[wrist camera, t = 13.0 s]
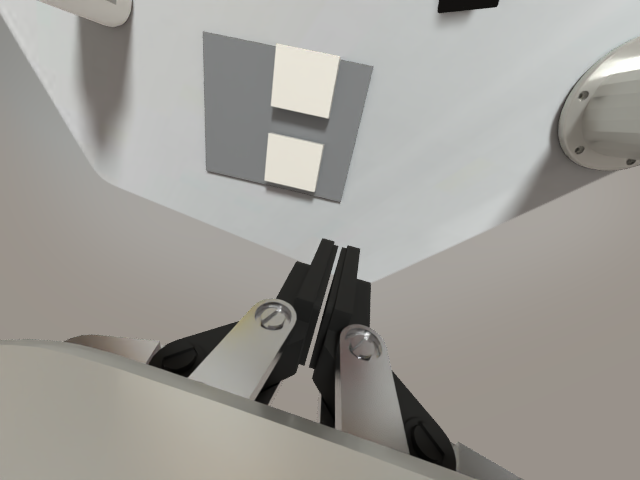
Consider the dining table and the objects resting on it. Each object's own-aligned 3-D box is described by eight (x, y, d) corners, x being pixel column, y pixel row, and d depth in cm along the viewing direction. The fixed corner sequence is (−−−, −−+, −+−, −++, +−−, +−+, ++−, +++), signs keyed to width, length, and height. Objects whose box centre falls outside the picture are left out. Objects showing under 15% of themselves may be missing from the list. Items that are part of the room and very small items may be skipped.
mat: (373, 67, 27) (373, 66, 27) (340, 201, 35) (340, 202, 34) (204, 32, 28) (202, 31, 28) (207, 169, 36) (206, 170, 35)
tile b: (323, 145, 30) (268, 133, 30) (314, 192, 33) (264, 180, 33) (324, 144, 31) (272, 132, 32) (316, 189, 34) (268, 178, 34)
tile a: (339, 56, 26) (276, 43, 26) (328, 118, 29) (270, 105, 29) (340, 59, 27) (280, 47, 28) (329, 118, 30) (275, 106, 30)
